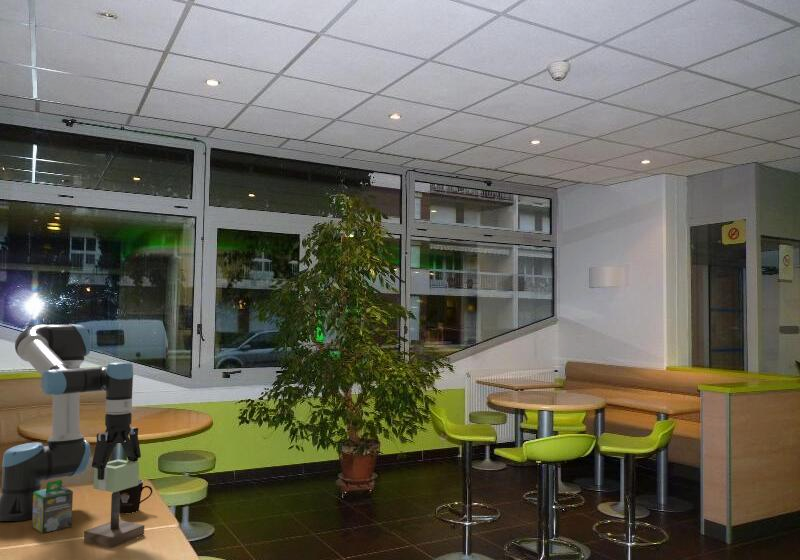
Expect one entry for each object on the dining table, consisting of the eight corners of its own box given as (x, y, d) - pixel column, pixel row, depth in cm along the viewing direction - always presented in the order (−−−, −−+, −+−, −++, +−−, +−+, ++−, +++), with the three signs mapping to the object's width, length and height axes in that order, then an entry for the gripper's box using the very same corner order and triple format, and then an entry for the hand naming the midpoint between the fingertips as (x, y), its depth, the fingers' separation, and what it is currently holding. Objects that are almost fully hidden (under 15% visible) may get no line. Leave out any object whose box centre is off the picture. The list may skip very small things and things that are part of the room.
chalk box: (60, 520, 211) (62, 475, 212) (72, 526, 205) (74, 480, 206) (30, 527, 204) (32, 480, 205) (41, 534, 198) (43, 485, 199)
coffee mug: (109, 512, 220) (111, 483, 220) (130, 505, 227) (131, 477, 228) (133, 517, 214) (134, 487, 215) (153, 511, 222) (154, 481, 222)
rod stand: (83, 541, 192) (85, 493, 193) (116, 529, 203) (118, 484, 204) (111, 547, 187) (113, 498, 188) (144, 535, 198) (145, 488, 199)
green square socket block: (93, 488, 194) (94, 465, 194) (117, 481, 202) (118, 459, 202) (114, 492, 190) (115, 468, 190) (138, 485, 198) (138, 462, 198)
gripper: (97, 418, 186) (94, 496, 184) (154, 408, 205) (152, 479, 204) (79, 416, 189) (76, 493, 188) (137, 407, 208) (135, 476, 207)
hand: (116, 486), depth 196 cm, fingers closed on green square socket block, 9 cm apart
